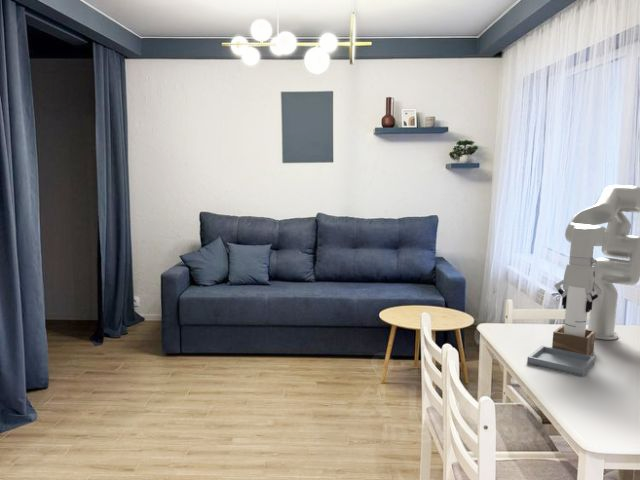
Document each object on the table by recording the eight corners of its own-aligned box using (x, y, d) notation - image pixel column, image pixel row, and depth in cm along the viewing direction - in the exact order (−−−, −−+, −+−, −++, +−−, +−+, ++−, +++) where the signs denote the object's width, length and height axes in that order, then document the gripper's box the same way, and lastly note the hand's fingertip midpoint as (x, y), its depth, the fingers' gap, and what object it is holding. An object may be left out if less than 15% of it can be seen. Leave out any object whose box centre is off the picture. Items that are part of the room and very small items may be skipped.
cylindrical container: (585, 356, 210) (591, 288, 206) (564, 355, 211) (570, 287, 207) (580, 350, 216) (586, 284, 213) (560, 348, 218) (565, 283, 214)
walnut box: (560, 345, 222) (562, 325, 221) (593, 352, 215) (595, 331, 214) (551, 353, 213) (553, 331, 211) (585, 360, 206) (587, 338, 204)
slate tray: (541, 352, 214) (542, 345, 213) (594, 363, 203) (595, 356, 202) (527, 363, 201) (527, 356, 201) (582, 376, 190) (583, 369, 190)
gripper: (609, 263, 206) (604, 312, 209) (558, 257, 217) (554, 303, 219) (604, 266, 201) (600, 316, 203) (552, 259, 211) (548, 307, 214)
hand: (576, 309), depth 211 cm, fingers closed on cylindrical container, 7 cm apart
